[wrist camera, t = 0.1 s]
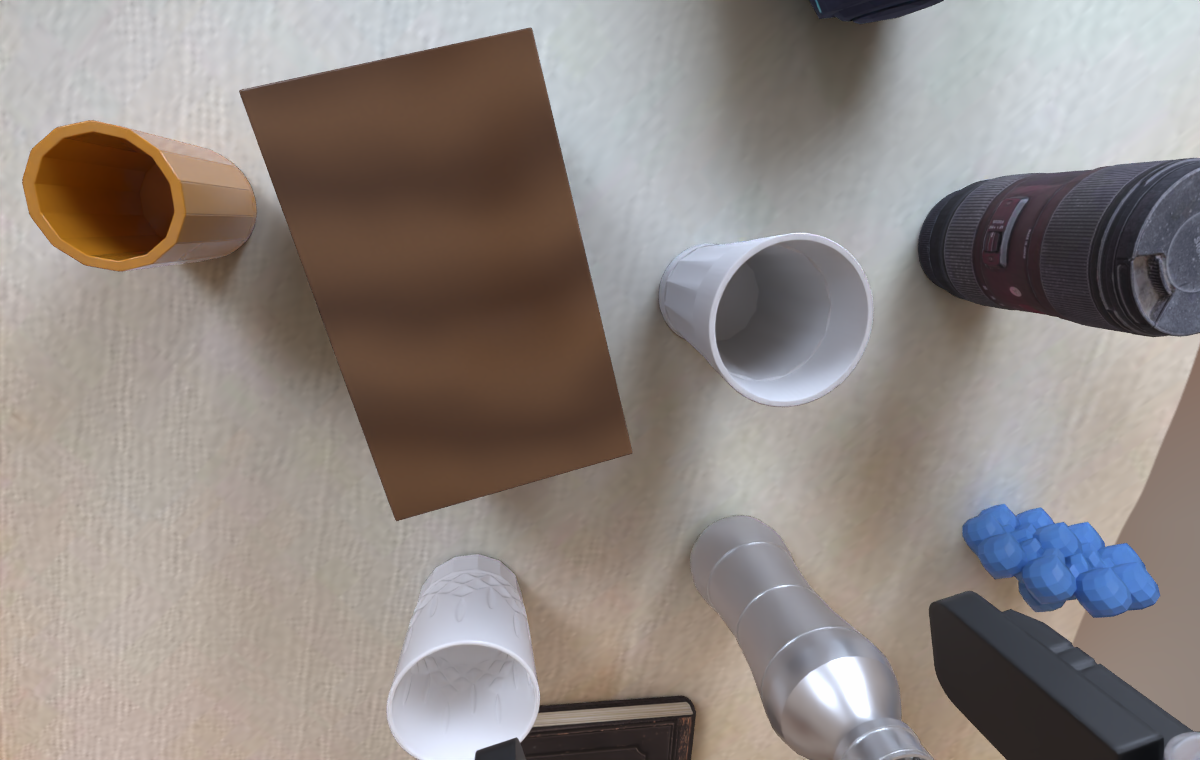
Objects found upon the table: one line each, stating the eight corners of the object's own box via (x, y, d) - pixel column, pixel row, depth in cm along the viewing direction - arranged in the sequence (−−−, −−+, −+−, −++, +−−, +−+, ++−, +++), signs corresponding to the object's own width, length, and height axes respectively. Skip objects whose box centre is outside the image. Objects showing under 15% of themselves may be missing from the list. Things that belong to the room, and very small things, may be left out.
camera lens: (942, 325, 43) (1165, 377, 29) (886, 231, 41) (1098, 236, 27) (1035, 251, 43) (1306, 266, 29) (984, 151, 41) (1252, 113, 26)
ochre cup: (117, 160, 33) (-7, 140, 25) (233, 134, 33) (150, 106, 25) (164, 270, 35) (62, 285, 26) (274, 244, 35) (208, 250, 27)
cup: (678, 377, 41) (751, 437, 29) (624, 268, 39) (679, 287, 27) (784, 318, 41) (896, 355, 30) (736, 206, 39) (838, 199, 27)
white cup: (394, 632, 42) (365, 752, 32) (434, 530, 41) (416, 624, 31) (504, 660, 44) (508, 781, 34) (547, 563, 43) (562, 662, 33)
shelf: (323, 134, 34) (237, 89, 23) (519, 90, 35) (531, 26, 24) (424, 434, 39) (395, 522, 28) (593, 387, 40) (633, 453, 29)
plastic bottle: (778, 569, 46) (981, 819, 27) (691, 598, 45) (835, 875, 26) (762, 492, 44) (969, 700, 25) (672, 521, 43) (812, 757, 24)
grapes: (905, 564, 48) (1035, 672, 36) (926, 481, 46) (1070, 567, 35) (1035, 568, 50) (1197, 672, 38) (1059, 490, 48) (1235, 573, 37)
